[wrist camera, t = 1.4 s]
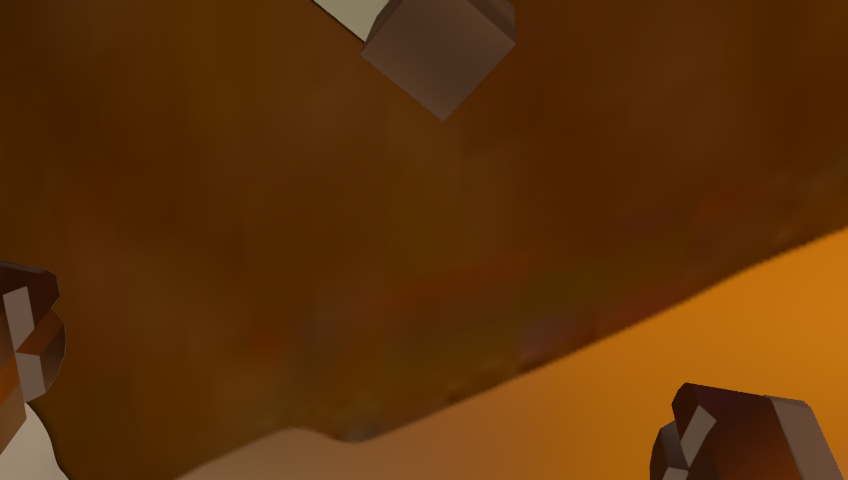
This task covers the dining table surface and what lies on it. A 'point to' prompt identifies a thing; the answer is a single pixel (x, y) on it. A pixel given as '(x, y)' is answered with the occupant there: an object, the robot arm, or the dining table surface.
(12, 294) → the robot arm
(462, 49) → the kicker sled
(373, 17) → the mat
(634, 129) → the dining table surface
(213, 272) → the dining table surface
